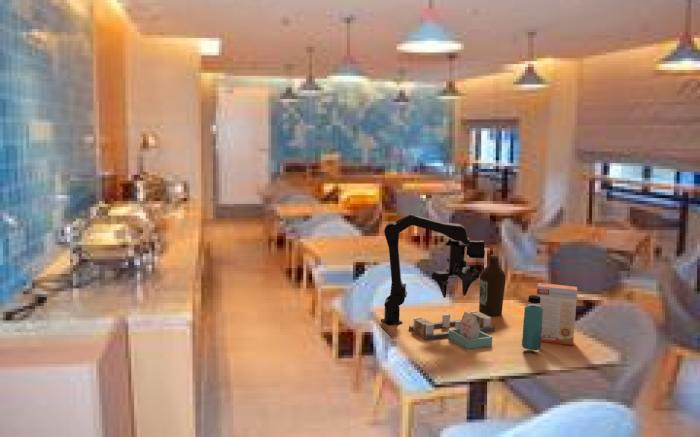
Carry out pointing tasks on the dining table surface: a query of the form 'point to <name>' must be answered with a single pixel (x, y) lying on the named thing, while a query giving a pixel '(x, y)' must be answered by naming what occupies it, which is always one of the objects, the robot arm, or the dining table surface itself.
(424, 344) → the dining table surface
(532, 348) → the beverage bottle
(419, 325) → the walnut block
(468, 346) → the teal tray
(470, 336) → the tea bag
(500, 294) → the olive oil
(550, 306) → the cracker box
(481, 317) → the walnut block
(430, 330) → the clip holder
